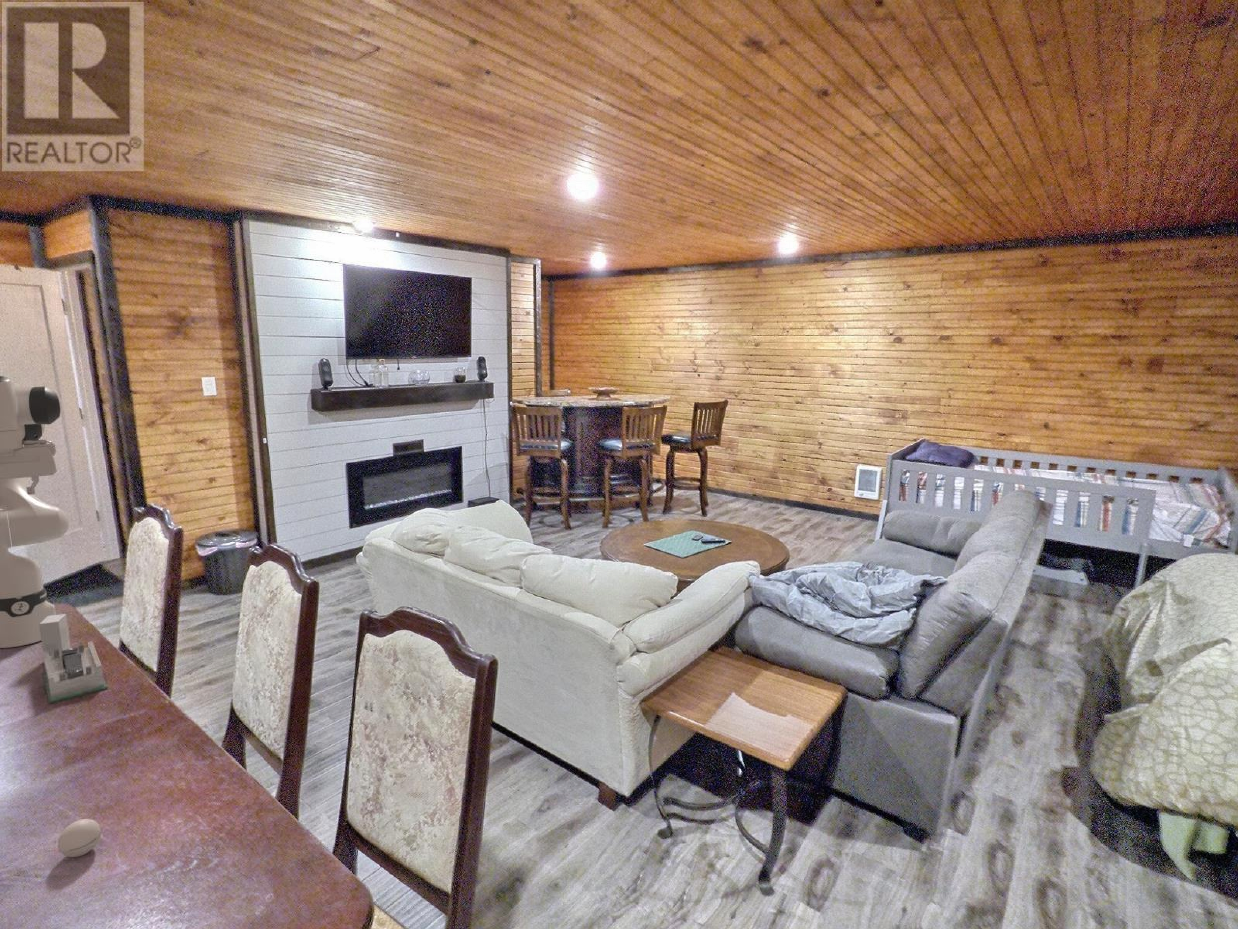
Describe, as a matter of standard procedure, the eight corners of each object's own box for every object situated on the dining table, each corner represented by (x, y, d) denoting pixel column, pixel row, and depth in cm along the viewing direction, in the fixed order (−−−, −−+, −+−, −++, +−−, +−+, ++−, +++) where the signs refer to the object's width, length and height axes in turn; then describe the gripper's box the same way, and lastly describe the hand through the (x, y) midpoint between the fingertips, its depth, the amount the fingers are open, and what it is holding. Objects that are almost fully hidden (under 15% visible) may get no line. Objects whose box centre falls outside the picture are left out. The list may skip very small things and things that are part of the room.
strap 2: (83, 674, 157) (83, 671, 157) (67, 678, 155) (67, 675, 155) (79, 654, 162) (79, 652, 161) (64, 658, 159) (63, 655, 159)
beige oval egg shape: (57, 871, 103) (53, 840, 102) (61, 849, 108) (57, 820, 107) (117, 850, 108) (113, 821, 107) (118, 830, 112) (115, 802, 111)
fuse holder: (43, 673, 166) (39, 649, 165) (96, 660, 174) (94, 637, 173) (49, 704, 152) (45, 679, 150) (107, 688, 159) (104, 664, 158)
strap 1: (61, 654, 167) (61, 651, 167) (76, 651, 169) (75, 647, 169) (63, 654, 161) (62, 650, 162) (78, 651, 164) (77, 647, 164)
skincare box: (52, 656, 176) (47, 615, 174) (72, 653, 177) (66, 613, 175) (43, 665, 170) (38, 624, 168) (64, 663, 172) (58, 621, 170)
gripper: (53, 437, 165) (59, 489, 167) (-62, 443, 150) (-53, 500, 152) (55, 440, 160) (61, 493, 162) (-63, 446, 146) (-54, 504, 148)
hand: (5, 496), depth 157 cm, fingers open, 8 cm apart
